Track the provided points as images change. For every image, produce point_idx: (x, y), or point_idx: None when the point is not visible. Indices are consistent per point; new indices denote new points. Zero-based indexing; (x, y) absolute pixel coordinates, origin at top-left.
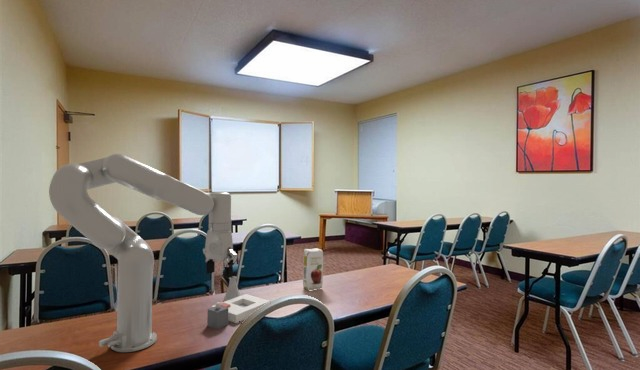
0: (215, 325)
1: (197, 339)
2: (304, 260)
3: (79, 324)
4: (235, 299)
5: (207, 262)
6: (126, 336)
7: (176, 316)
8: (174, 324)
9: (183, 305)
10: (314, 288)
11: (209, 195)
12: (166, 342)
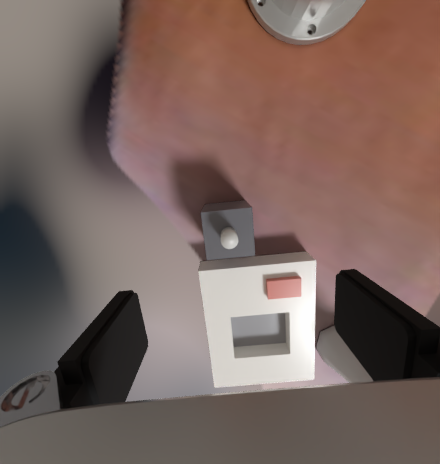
0: (209, 205)
1: (187, 132)
2: None
3: None
4: (302, 336)
5: (437, 343)
6: None
7: (376, 172)
8: (328, 136)
9: (432, 231)
10: None
11: None
12: (234, 53)
